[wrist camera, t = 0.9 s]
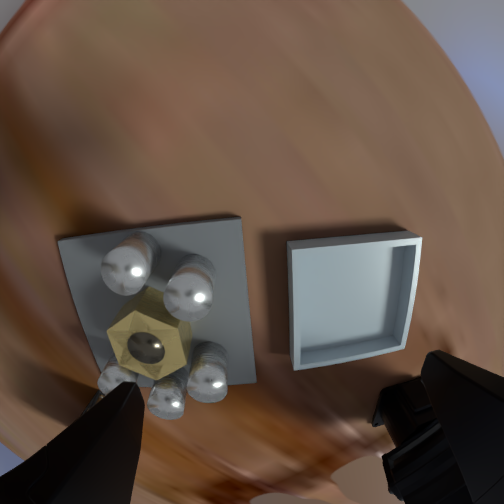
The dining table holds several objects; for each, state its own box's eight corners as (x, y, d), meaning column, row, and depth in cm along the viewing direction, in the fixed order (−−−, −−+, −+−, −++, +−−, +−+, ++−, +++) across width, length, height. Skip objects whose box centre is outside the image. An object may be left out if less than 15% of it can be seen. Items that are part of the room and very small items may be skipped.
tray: (394, 336, 24) (404, 348, 22) (289, 355, 24) (293, 370, 22) (408, 230, 21) (422, 237, 19) (286, 241, 21) (291, 249, 19)
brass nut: (195, 349, 22) (190, 380, 18) (137, 351, 22) (125, 380, 18) (182, 283, 20) (172, 308, 17) (118, 288, 20) (99, 312, 17)
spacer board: (256, 376, 24) (256, 382, 23) (109, 379, 24) (107, 385, 23) (240, 216, 20) (240, 219, 19) (62, 238, 19) (57, 241, 19)
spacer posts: (232, 383, 23) (233, 418, 20) (125, 385, 23) (114, 416, 19) (209, 223, 19) (203, 240, 15) (78, 239, 19) (50, 257, 15)
